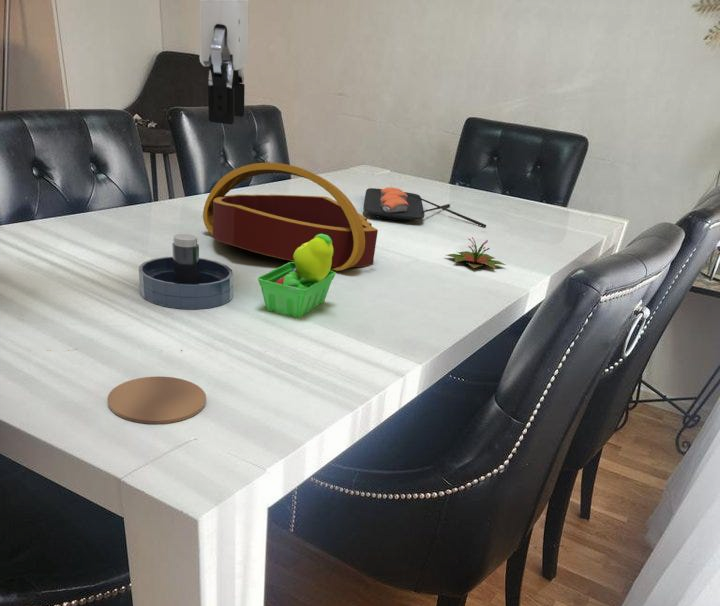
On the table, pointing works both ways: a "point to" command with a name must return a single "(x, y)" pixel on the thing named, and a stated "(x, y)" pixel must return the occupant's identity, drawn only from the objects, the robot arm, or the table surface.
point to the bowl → (186, 285)
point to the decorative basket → (288, 219)
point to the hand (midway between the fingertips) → (227, 118)
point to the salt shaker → (186, 259)
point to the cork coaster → (156, 400)
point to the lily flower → (476, 257)
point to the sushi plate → (400, 205)
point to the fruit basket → (300, 279)
